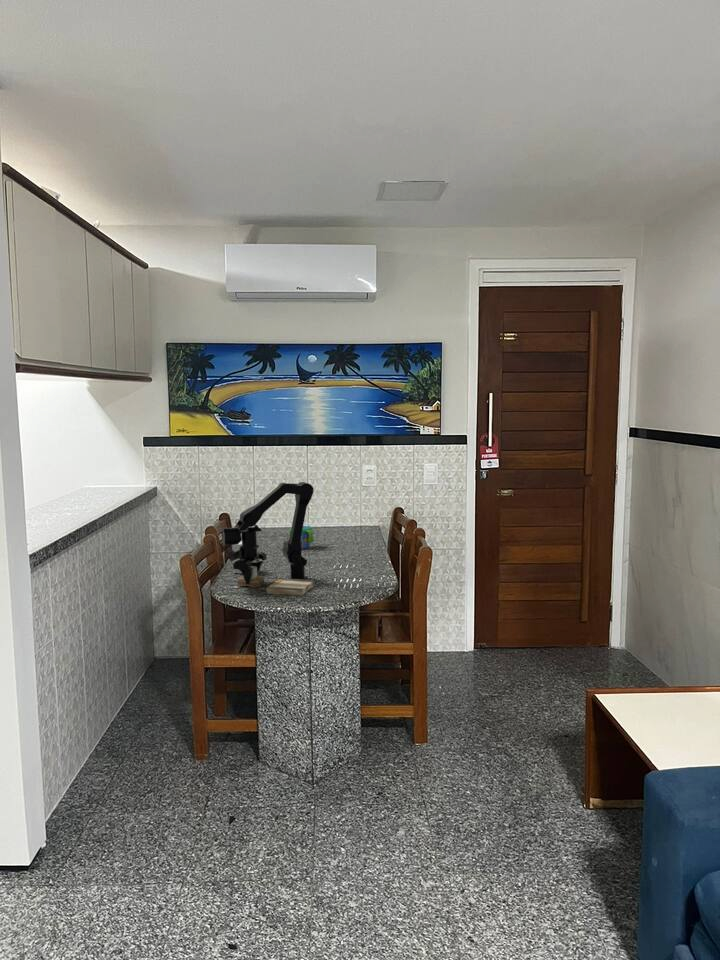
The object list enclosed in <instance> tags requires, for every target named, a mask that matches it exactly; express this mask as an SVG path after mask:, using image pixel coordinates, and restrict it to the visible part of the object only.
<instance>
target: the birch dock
mask: <svg viewBox="0 0 720 960" xmlns="http://www.w3.org/2000/svg"><path fill="white" fill-rule="evenodd" d="M313 587H315V579H305V580H302V579H289V578H279V579H278V580H276V581H275V582H273V583H272V584H270V585H269V586H267V587H266V594H272V595H291V596H303V595H304V594H306V593H307V592H308V591H309V590H311V589H312V588H313ZM310 588H311V589H310Z"/></svg>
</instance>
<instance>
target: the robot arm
mask: <svg viewBox="0 0 720 960" xmlns="http://www.w3.org/2000/svg"><path fill="white" fill-rule="evenodd" d="M314 489H315V488H314V487H313V485H312V484H310V483H308V482H305V481H299V482H298V483H290V482H289V483H287V482H280V483H279V484H278V485H277V486H276V487H275V488H273V490H272V491H270V492H269V493H268V494H266V496H264V497H263V498H262V499H261V500H260V501H259V502H257V504H255V505H252V506H251V507H248V508H246V509H245V510H243V511H242V512H241V513H240V515H239V520H238V521H237V523H236V524H235V526H233V527H223V528H222V533H221V542H222V545H223V547H224V546H232V545H236V544H239V543H240V541H242V546H241V547H240V550H237V551H233V550H232V549H231V550H229V551H228V552H227V560H230V562H232V569H233V570H234V569H238V570H240V571H241V572H242V573H241V574H242V576H244V579H245V582H246V584H249V583H250V579H251V575H252V572H253V567H257V576H259V573H260V571H261V568H262V565H263V564H264V561H266V560H267V553H266V552H264V551H258V548H259V547H260V546H259V545H260V544H258V543H257V542H258V541H257V540H258V539H257V532H262V529H261V528H260V527H259V526H258V524H257V523H258V522H259V521H260V520H261V519H262V516H263V515H264V514H265V513H266V511H268V510H269V509H270V508H271V507H272V506H274V505H275V504H276V503H277V502H278V501H279V500H280V499H281V498H282V497H284V496H285V495H286V494H291V495H294V499H295V507H294V513H293V519H292V524H291V527H292V528H291V527H290V528H291V533H290V532H289V534H290V538H288V540H287V541H284V540H283V544H282V545H283V547H282V549H281V552H282V555H283V558H285V560H287V562H288V563H289V568H290V569H289V572H290V577H288V579H302V580H307V579H308V577H309V576H307V575H305V571H306V570H305V567H307V562H308V560H307V558H305V557H304V556H303V555H302V550H303V549H302V548H301V535H302V529H303V526H304V522H305V518H306V517H305V516H306V513H307V509H308V505H309V503H310V502H311V500H312V497H313V494H314ZM236 559H239V560H238V561H236V562H234V563H233V561H234V560H236Z"/></svg>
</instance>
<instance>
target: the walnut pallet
mask: <svg viewBox="0 0 720 960" xmlns="http://www.w3.org/2000/svg"><path fill="white" fill-rule="evenodd" d="M236 581H237V586H238V585H240V586H252V587H251V588H257V587H259V588H261V586H260V585H262V584H264V583H266V581H265V576H259V575H257V577H256V578H255V579H250V583H249V584H246V582H245V579H244V576H243V575H241V576H240V577H238V578H237V580H236ZM264 585H265V584H264ZM262 586H263V585H262Z"/></svg>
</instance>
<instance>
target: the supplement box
mask: <svg viewBox="0 0 720 960" xmlns="http://www.w3.org/2000/svg"><path fill="white" fill-rule="evenodd" d="M241 546H242V540H241V541H240V543H239V544H236V545H231V551H232V550H233V551H237V550H240V547H241ZM238 560H239V559H236V560H234V561H232V564H233V563H234V562H236V561H238ZM234 573H237V574H242V572H241V571H240V570H238V569H233V574H234Z"/></svg>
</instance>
